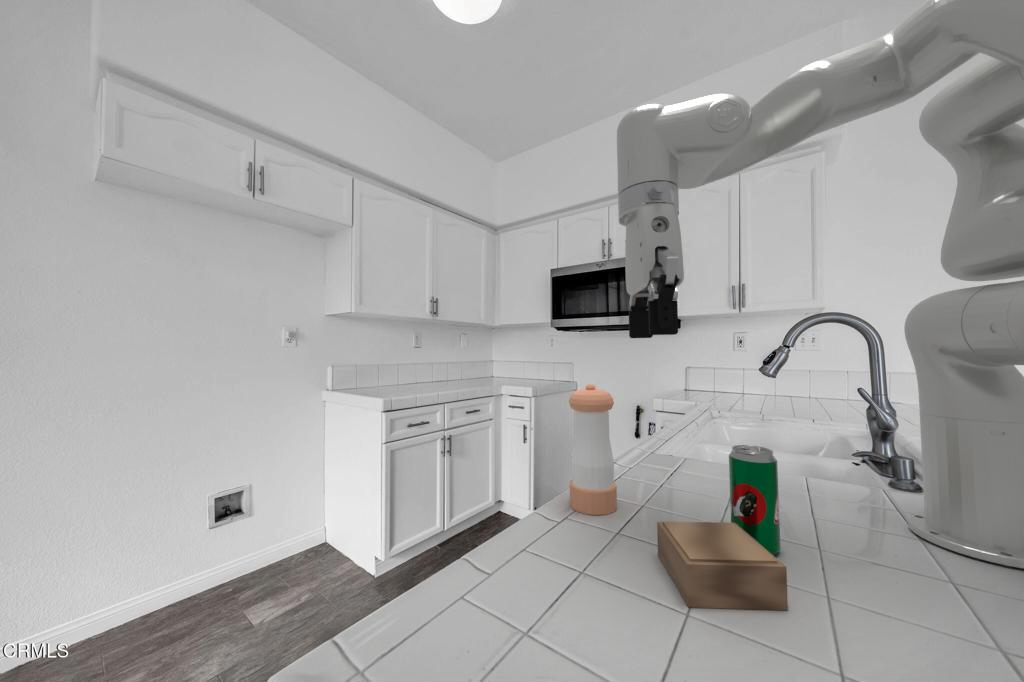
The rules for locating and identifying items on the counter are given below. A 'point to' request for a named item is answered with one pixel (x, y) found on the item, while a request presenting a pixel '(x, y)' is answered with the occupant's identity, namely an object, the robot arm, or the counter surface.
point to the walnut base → (721, 566)
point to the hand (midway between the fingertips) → (651, 336)
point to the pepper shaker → (592, 453)
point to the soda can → (755, 494)
